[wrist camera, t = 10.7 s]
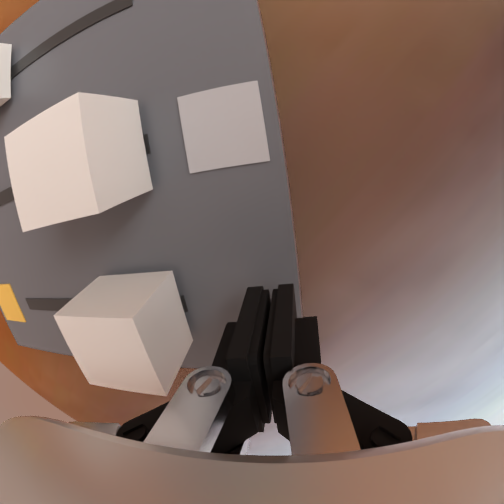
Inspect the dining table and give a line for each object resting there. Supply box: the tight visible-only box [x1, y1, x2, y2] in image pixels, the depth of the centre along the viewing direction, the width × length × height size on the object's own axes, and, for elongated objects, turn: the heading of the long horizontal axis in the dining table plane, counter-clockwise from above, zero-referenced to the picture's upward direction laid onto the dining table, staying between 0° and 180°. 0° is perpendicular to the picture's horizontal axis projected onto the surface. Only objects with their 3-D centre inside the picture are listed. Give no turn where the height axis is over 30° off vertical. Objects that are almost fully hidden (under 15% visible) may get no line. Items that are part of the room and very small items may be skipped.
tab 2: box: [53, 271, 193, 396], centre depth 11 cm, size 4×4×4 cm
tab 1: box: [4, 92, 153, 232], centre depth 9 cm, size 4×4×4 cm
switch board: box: [0, 0, 303, 368], centre depth 12 cm, size 22×22×2 cm
